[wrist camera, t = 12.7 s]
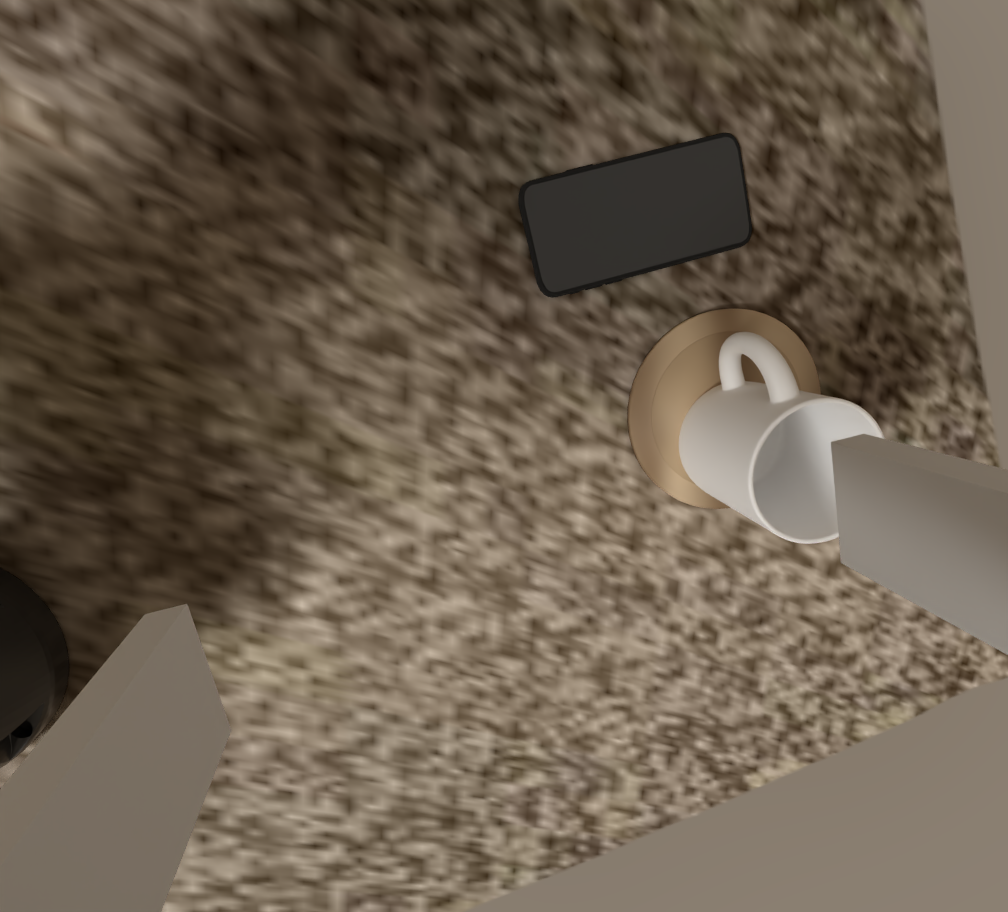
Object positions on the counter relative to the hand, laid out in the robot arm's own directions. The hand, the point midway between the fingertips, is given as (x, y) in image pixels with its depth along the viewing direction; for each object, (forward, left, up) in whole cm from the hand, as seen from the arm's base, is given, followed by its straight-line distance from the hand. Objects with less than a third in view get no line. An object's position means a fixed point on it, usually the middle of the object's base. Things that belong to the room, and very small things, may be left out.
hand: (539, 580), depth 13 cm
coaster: (+19, -6, -31) cm, 37 cm away
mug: (+18, -6, -31) cm, 36 cm away
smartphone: (+15, +8, -32) cm, 36 cm away
